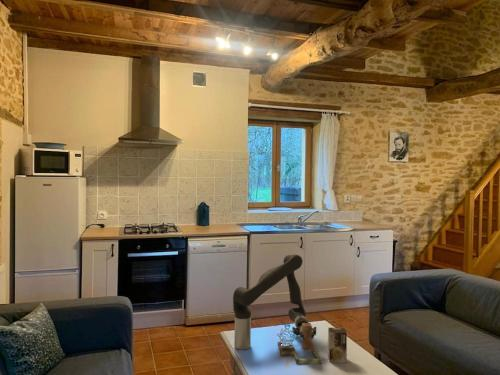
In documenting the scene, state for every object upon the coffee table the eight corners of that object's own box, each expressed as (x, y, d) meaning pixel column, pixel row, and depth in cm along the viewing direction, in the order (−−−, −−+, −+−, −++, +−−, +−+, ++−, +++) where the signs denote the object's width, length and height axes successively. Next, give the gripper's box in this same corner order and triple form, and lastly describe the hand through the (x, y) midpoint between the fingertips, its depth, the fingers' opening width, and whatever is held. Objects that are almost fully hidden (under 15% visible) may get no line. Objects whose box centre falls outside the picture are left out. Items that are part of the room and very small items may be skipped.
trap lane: (282, 364, 190) (283, 360, 190) (277, 343, 214) (277, 340, 214) (321, 363, 191) (321, 359, 191) (311, 343, 215) (311, 340, 215)
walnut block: (303, 350, 195) (303, 326, 195) (301, 346, 200) (301, 322, 199) (311, 350, 195) (311, 326, 195) (309, 346, 200) (310, 322, 199)
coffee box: (344, 357, 198) (345, 327, 198) (346, 363, 192) (347, 332, 192) (327, 356, 199) (328, 326, 199) (329, 362, 193) (329, 331, 193)
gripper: (289, 317, 211) (294, 330, 194) (314, 317, 212) (321, 329, 195) (289, 330, 211) (294, 344, 194) (314, 330, 212) (321, 343, 195)
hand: (307, 336), depth 195 cm, fingers closed on walnut block, 4 cm apart
